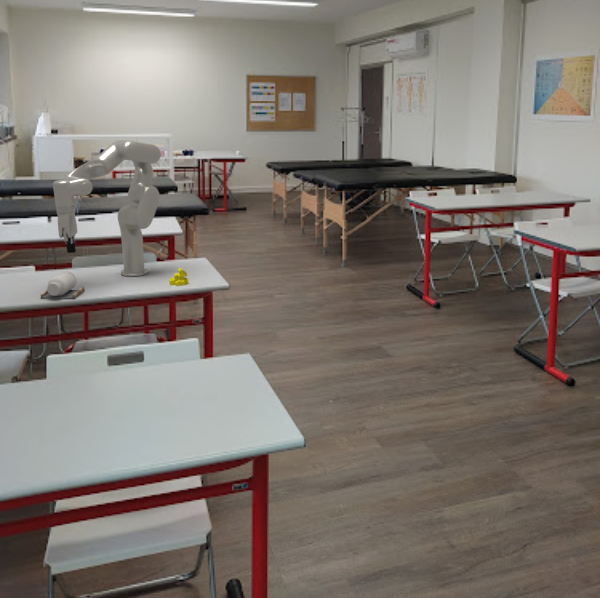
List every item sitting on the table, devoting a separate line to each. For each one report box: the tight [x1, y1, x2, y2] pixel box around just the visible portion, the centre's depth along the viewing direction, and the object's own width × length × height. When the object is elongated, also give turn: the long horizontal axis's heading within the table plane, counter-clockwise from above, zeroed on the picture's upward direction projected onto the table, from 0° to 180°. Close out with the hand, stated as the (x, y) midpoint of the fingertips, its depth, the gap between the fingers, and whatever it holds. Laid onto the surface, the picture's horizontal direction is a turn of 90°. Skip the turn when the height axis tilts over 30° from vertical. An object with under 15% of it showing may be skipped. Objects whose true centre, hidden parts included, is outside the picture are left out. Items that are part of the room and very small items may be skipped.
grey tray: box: [42, 289, 86, 300], centre depth 284 cm, size 12×14×1 cm
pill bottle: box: [46, 271, 77, 296], centre depth 283 cm, size 8×8×15 cm
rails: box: [40, 286, 86, 300], centre depth 284 cm, size 12×14×2 cm
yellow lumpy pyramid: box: [168, 266, 189, 287], centre depth 300 cm, size 6×8×8 cm
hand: (71, 252), depth 292 cm, fingers closed
